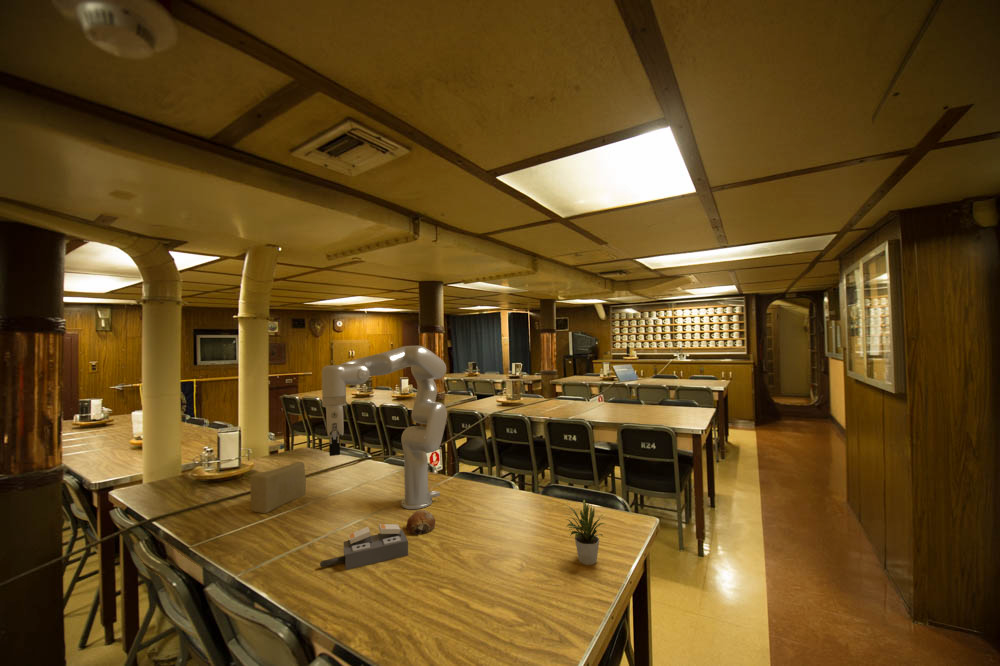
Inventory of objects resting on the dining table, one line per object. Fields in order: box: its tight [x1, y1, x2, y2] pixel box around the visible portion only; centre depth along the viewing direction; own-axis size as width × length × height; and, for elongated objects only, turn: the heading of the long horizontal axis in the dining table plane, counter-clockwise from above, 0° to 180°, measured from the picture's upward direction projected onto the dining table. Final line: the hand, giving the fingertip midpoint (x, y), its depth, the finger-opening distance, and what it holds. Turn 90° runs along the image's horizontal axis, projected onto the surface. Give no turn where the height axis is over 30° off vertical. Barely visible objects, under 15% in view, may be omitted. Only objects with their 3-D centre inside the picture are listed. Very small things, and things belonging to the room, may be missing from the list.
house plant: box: [562, 499, 606, 566], centre depth 119 cm, size 14×14×16 cm
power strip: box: [319, 528, 409, 571], centre depth 122 cm, size 25×9×5 cm, turn 115°
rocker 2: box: [378, 523, 401, 534], centre depth 128 cm, size 6×4×2 cm, turn 114°
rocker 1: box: [348, 526, 372, 544], centre depth 124 cm, size 6×4×2 cm, turn 115°
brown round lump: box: [406, 509, 436, 535], centre depth 142 cm, size 10×10×8 cm
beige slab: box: [250, 461, 307, 514], centre depth 171 cm, size 22×10×15 cm, turn 155°
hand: (334, 451), depth 136 cm, fingers open, 9 cm apart
